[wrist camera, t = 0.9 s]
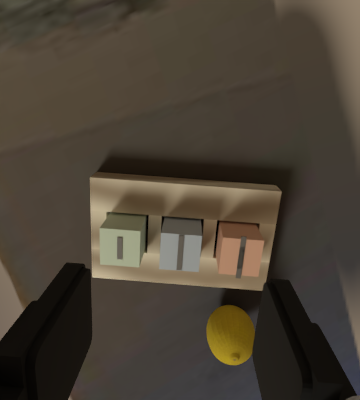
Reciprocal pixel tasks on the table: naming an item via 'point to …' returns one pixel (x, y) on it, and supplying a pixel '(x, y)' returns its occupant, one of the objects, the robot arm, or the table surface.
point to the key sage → (123, 239)
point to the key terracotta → (239, 249)
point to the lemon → (230, 334)
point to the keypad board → (186, 208)
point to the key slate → (180, 244)
